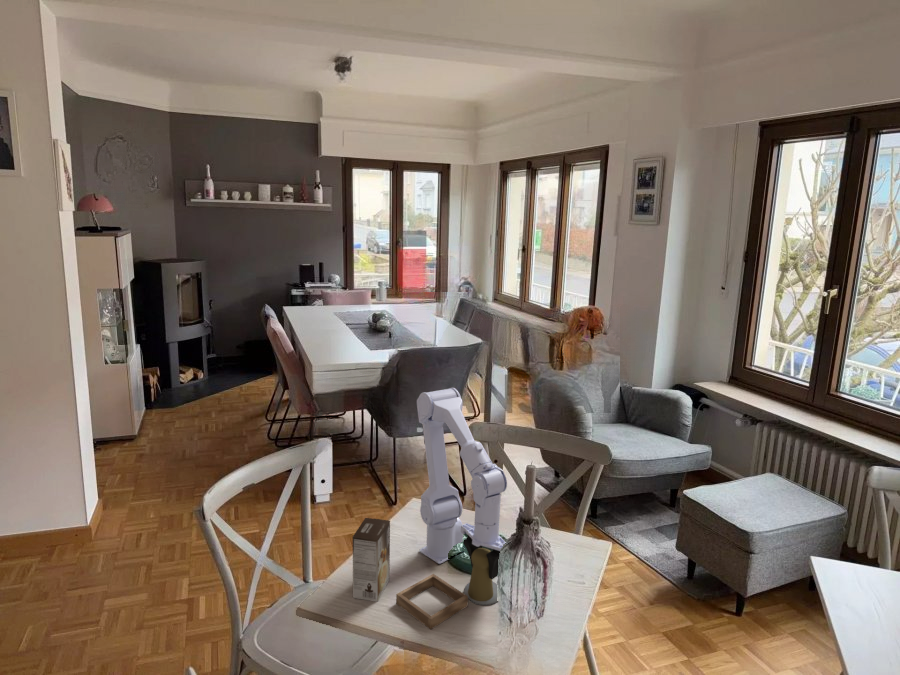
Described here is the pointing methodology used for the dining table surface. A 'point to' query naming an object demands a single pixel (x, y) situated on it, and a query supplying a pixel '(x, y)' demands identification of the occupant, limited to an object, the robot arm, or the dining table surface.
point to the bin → (441, 615)
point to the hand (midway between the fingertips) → (484, 571)
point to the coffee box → (371, 559)
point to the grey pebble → (488, 602)
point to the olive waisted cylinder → (480, 576)
